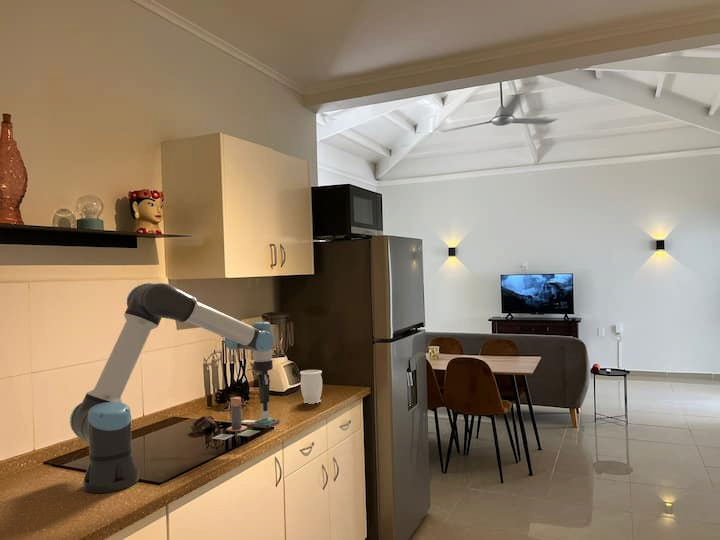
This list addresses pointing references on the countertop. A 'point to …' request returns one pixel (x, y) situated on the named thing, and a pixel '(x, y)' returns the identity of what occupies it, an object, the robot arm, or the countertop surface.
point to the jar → (311, 386)
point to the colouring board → (247, 432)
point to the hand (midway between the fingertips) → (265, 418)
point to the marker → (236, 413)
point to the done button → (265, 421)
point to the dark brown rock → (204, 424)
